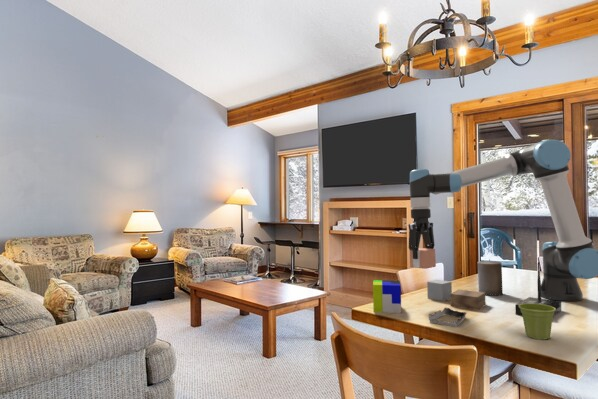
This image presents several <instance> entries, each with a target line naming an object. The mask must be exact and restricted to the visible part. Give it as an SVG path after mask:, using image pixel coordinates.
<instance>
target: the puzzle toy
mask: <svg viewBox="0 0 598 399" xmlns="http://www.w3.org/2000/svg"><path fill="white" fill-rule="evenodd" d="M401 286H402V285H401V282H400V280H394V279H392V280H390V279H389V280H386V279H381V280H380V279H378V280H377V279H374V280H373V282H372V300H373V301H372V302H373V303H372V304H373V305H372V308H373V313H374V312H375V313H395V314H396V313H399V314H401V313H402V287H401Z"/></svg>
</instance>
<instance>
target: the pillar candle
mask: <svg viewBox="0 0 598 399" xmlns="http://www.w3.org/2000/svg"><path fill="white" fill-rule="evenodd" d="M502 269H503V266H502V262H500V261H494V260H493V261H492V260H491V259H488V260H483V261H482V260H481V261H477V280H478V284H477V285H478V292H485V296H503V294H504V293H503V270H502Z"/></svg>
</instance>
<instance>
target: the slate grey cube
mask: <svg viewBox="0 0 598 399" xmlns="http://www.w3.org/2000/svg"><path fill="white" fill-rule="evenodd" d="M426 283H427V286H426V289H427V299H429V300H430V299H431V300H435V301H440V302H445V301H448V300H451V293H453V290H452V289H453V288H452V283H453V282H452V281H449V280H441V279H433V280H429V281H427V282H426Z"/></svg>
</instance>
